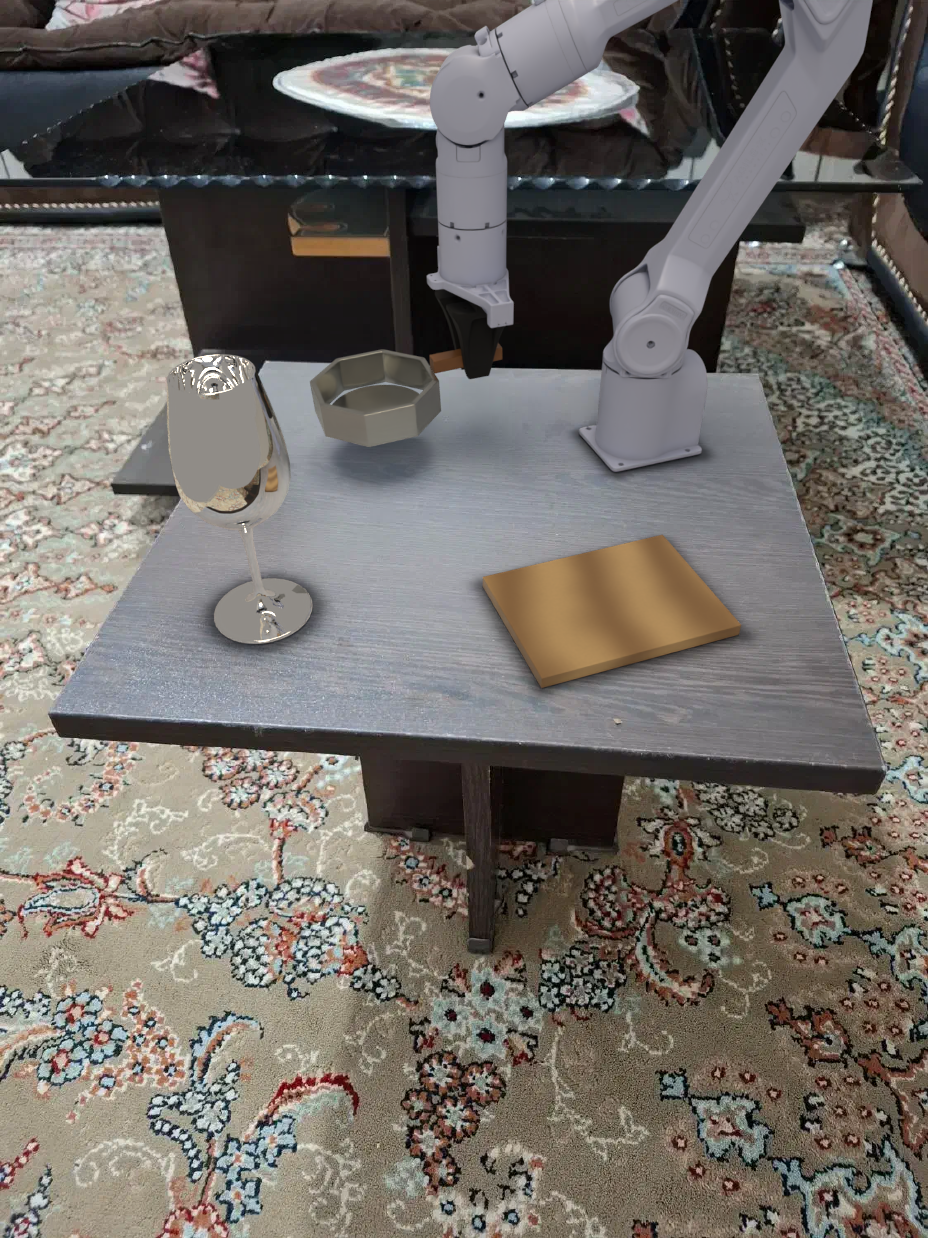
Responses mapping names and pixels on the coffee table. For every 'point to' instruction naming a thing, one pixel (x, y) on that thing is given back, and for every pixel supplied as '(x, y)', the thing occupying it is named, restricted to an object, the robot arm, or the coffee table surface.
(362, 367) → the saucepan
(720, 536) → the coffee table surface
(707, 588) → the cutting board
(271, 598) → the wineglass
